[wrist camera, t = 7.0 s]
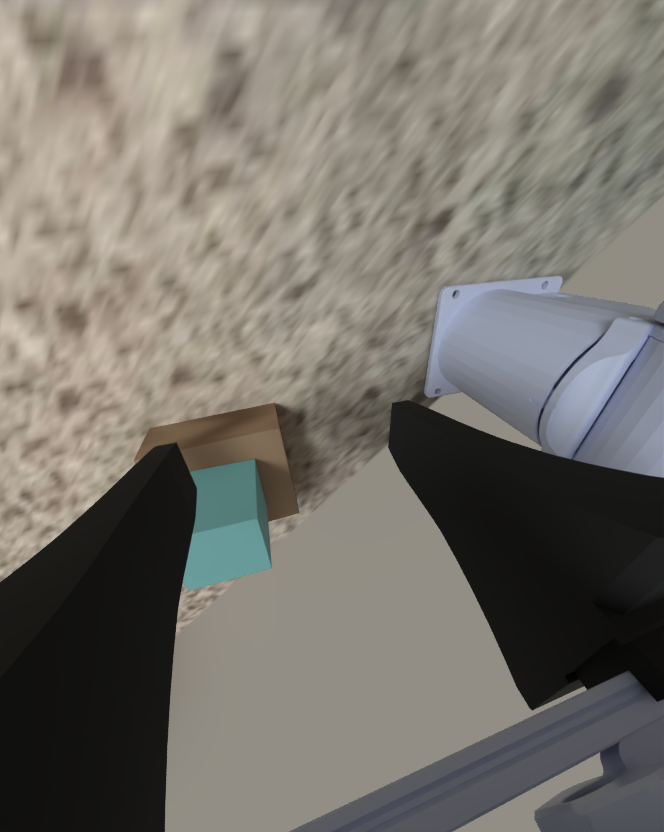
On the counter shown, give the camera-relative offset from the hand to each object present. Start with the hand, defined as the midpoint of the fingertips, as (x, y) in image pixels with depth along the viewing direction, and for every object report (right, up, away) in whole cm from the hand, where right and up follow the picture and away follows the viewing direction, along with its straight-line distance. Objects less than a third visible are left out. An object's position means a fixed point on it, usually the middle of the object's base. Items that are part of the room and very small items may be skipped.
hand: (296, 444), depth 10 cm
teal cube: (-6, -4, +8) cm, 11 cm away
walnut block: (-6, -2, +11) cm, 13 cm away
